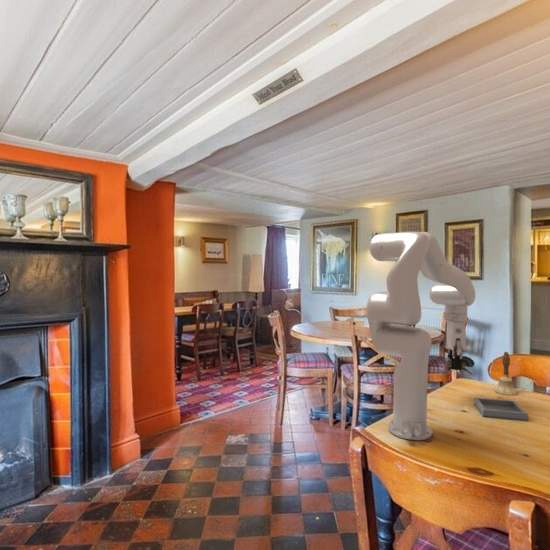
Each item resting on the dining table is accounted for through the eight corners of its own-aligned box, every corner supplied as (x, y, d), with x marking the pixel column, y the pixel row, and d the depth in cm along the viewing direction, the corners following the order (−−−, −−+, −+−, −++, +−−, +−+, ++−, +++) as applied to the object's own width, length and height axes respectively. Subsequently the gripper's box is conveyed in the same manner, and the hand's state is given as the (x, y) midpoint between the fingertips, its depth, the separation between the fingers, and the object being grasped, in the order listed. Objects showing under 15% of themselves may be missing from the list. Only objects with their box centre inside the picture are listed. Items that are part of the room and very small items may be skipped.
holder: (527, 421, 123) (527, 413, 123) (483, 416, 126) (483, 409, 126) (514, 407, 135) (514, 400, 134) (474, 404, 138) (474, 397, 138)
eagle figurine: (450, 372, 134) (477, 369, 133) (444, 353, 138) (470, 350, 137) (447, 379, 140) (473, 376, 139) (441, 361, 144) (466, 358, 143)
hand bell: (521, 396, 146) (522, 355, 146) (498, 394, 148) (498, 353, 148) (512, 389, 155) (513, 350, 154) (490, 388, 156) (491, 349, 156)
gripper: (472, 321, 129) (471, 374, 129) (461, 316, 146) (460, 362, 146) (448, 320, 131) (447, 372, 131) (440, 315, 148) (439, 361, 148)
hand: (454, 366), depth 139 cm, fingers closed on eagle figurine, 6 cm apart
